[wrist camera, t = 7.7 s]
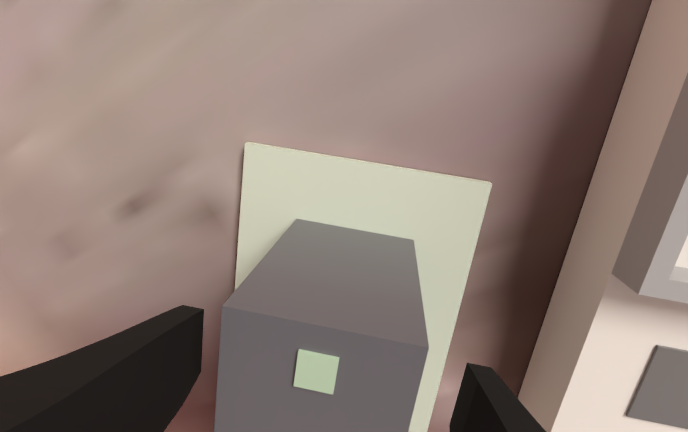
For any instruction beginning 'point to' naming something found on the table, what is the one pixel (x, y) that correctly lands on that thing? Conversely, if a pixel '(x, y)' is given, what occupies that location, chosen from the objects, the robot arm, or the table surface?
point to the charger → (324, 336)
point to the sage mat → (371, 227)
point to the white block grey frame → (626, 262)
